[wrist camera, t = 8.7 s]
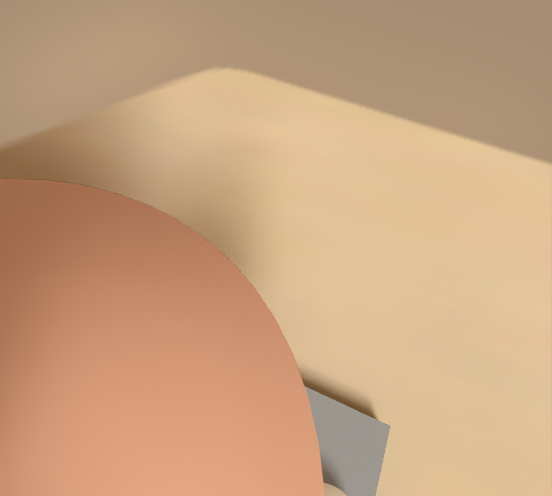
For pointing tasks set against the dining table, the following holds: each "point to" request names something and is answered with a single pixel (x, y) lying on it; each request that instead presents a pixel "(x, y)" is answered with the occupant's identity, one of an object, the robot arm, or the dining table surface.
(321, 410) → the board
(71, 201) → the canister
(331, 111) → the dining table surface
